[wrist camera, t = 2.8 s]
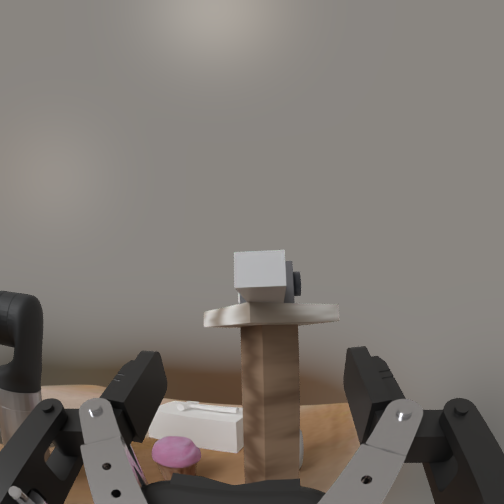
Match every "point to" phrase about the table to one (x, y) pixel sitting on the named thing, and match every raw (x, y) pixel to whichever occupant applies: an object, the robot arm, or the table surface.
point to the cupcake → (176, 456)
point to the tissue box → (200, 425)
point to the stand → (270, 381)
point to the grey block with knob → (265, 277)
